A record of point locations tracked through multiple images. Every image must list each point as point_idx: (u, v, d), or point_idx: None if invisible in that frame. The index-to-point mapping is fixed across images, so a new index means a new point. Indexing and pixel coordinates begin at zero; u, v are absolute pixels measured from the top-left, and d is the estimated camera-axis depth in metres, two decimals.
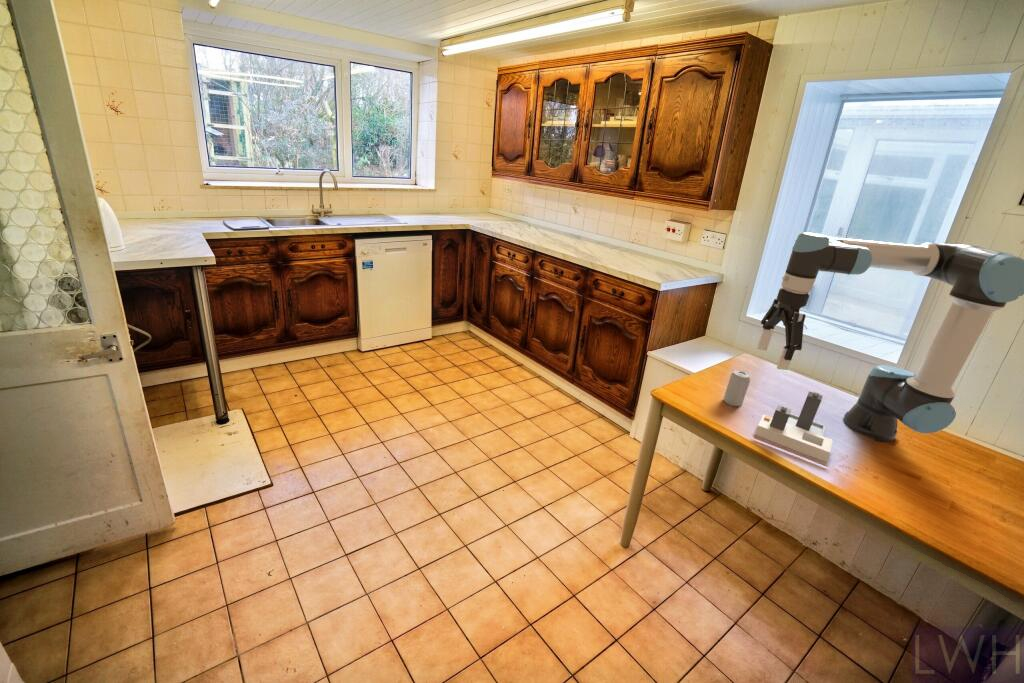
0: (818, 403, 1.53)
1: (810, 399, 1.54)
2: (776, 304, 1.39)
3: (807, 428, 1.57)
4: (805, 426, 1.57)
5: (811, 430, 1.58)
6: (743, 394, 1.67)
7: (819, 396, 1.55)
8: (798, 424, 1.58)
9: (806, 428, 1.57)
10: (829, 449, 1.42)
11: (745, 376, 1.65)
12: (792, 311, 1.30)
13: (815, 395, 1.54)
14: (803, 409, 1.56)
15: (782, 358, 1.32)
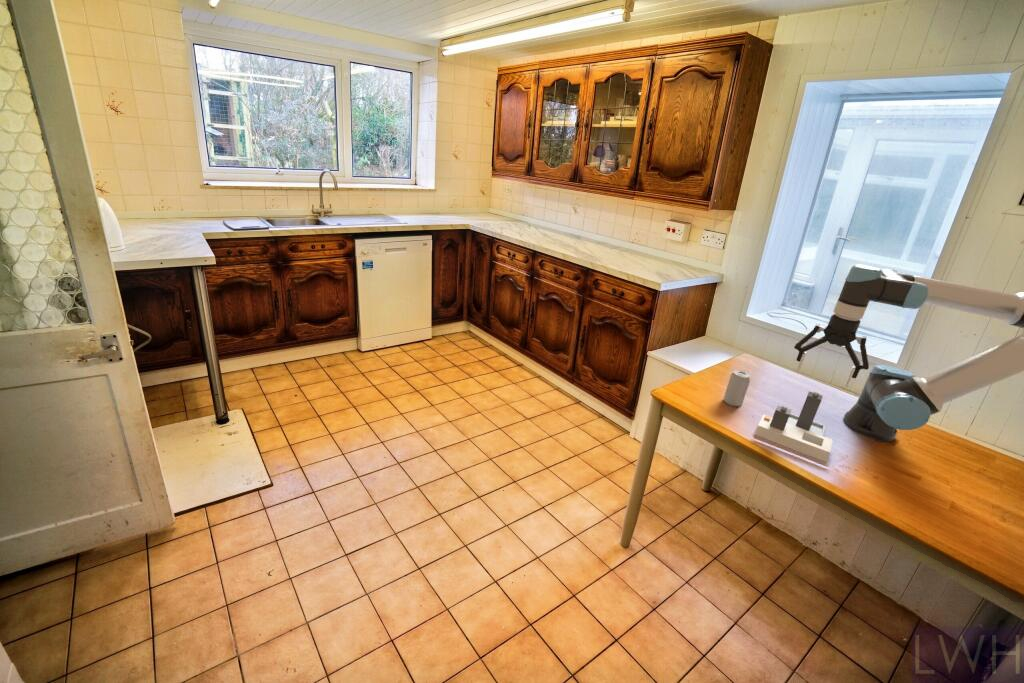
0: (818, 403, 1.53)
1: (810, 399, 1.54)
2: None
3: (807, 428, 1.57)
4: (805, 426, 1.57)
5: (811, 430, 1.58)
6: (743, 394, 1.67)
7: (819, 396, 1.55)
8: (798, 424, 1.58)
9: (806, 428, 1.57)
10: (829, 449, 1.42)
11: (745, 376, 1.65)
12: None
13: (815, 395, 1.54)
14: (803, 409, 1.56)
15: None
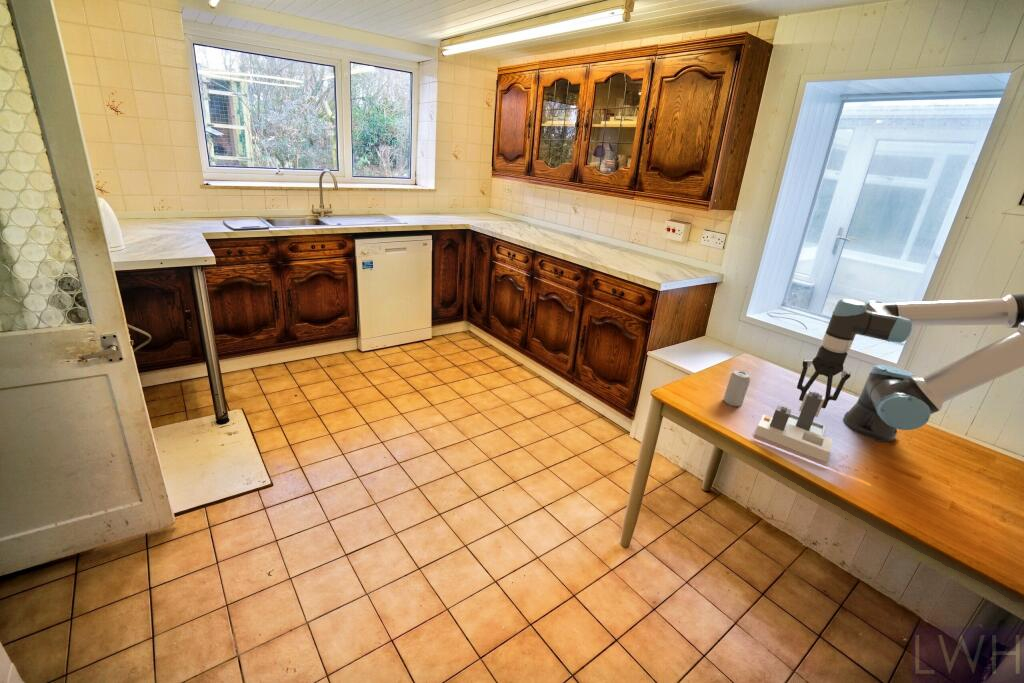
0: (818, 403, 1.53)
1: (810, 399, 1.54)
2: None
3: (807, 428, 1.57)
4: (805, 426, 1.57)
5: (811, 430, 1.58)
6: (743, 394, 1.67)
7: (819, 396, 1.54)
8: (798, 424, 1.58)
9: (806, 428, 1.57)
10: (829, 449, 1.42)
11: (745, 376, 1.65)
12: None
13: (815, 395, 1.54)
14: (803, 409, 1.56)
15: None
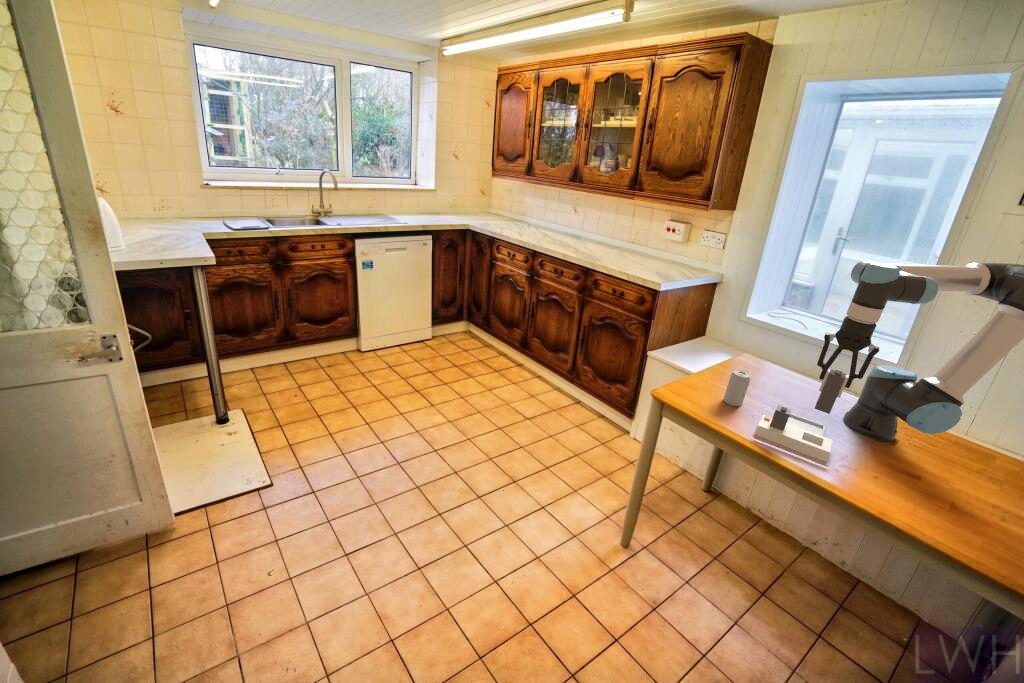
0: (841, 382, 1.36)
1: (831, 377, 1.38)
2: None
3: (828, 410, 1.40)
4: (826, 408, 1.41)
5: (811, 430, 1.58)
6: (743, 394, 1.67)
7: (842, 374, 1.38)
8: (818, 406, 1.42)
9: (827, 410, 1.41)
10: (829, 449, 1.42)
11: (745, 376, 1.65)
12: None
13: (838, 373, 1.37)
14: (824, 389, 1.40)
15: None
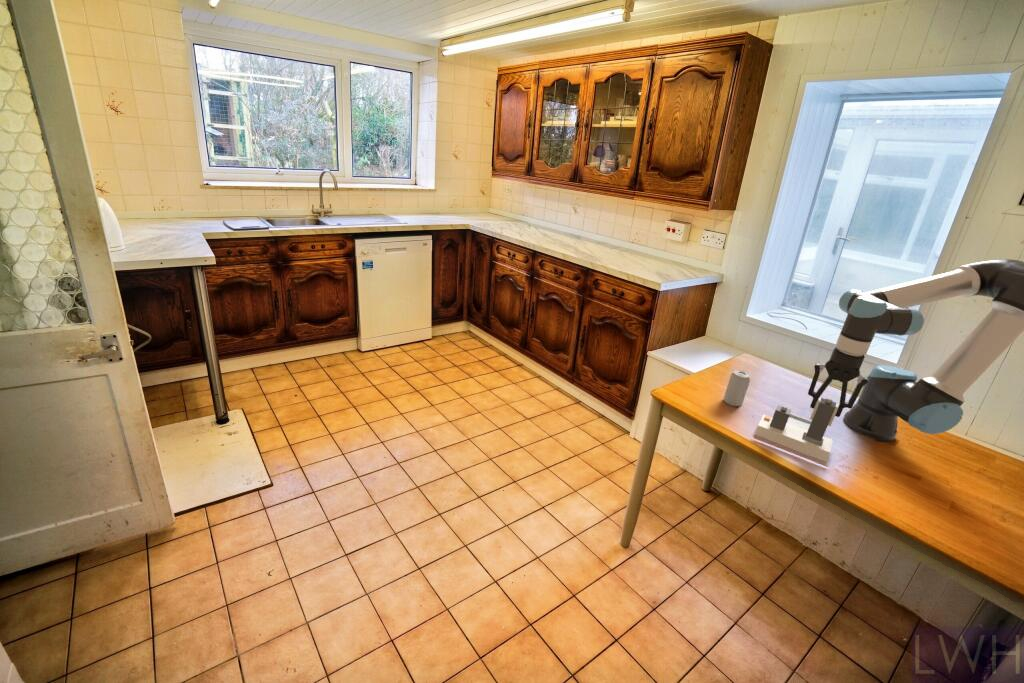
0: (831, 411, 1.39)
1: (822, 406, 1.41)
2: None
3: (819, 438, 1.43)
4: (817, 436, 1.44)
5: None
6: (743, 394, 1.67)
7: (832, 403, 1.41)
8: (809, 434, 1.45)
9: (818, 438, 1.44)
10: (829, 449, 1.42)
11: (745, 376, 1.65)
12: None
13: (829, 402, 1.40)
14: (815, 417, 1.43)
15: None
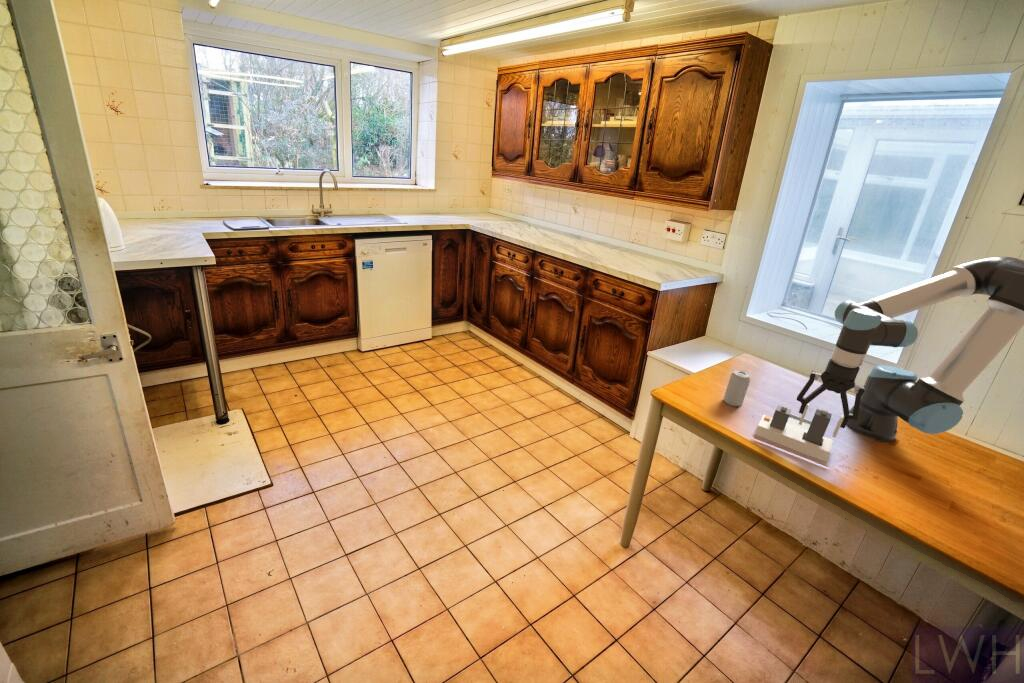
0: (827, 422, 1.41)
1: (817, 418, 1.42)
2: None
3: None
4: None
5: None
6: (743, 394, 1.67)
7: (828, 414, 1.42)
8: None
9: None
10: (829, 449, 1.42)
11: (745, 376, 1.65)
12: None
13: (824, 413, 1.42)
14: (810, 428, 1.44)
15: None
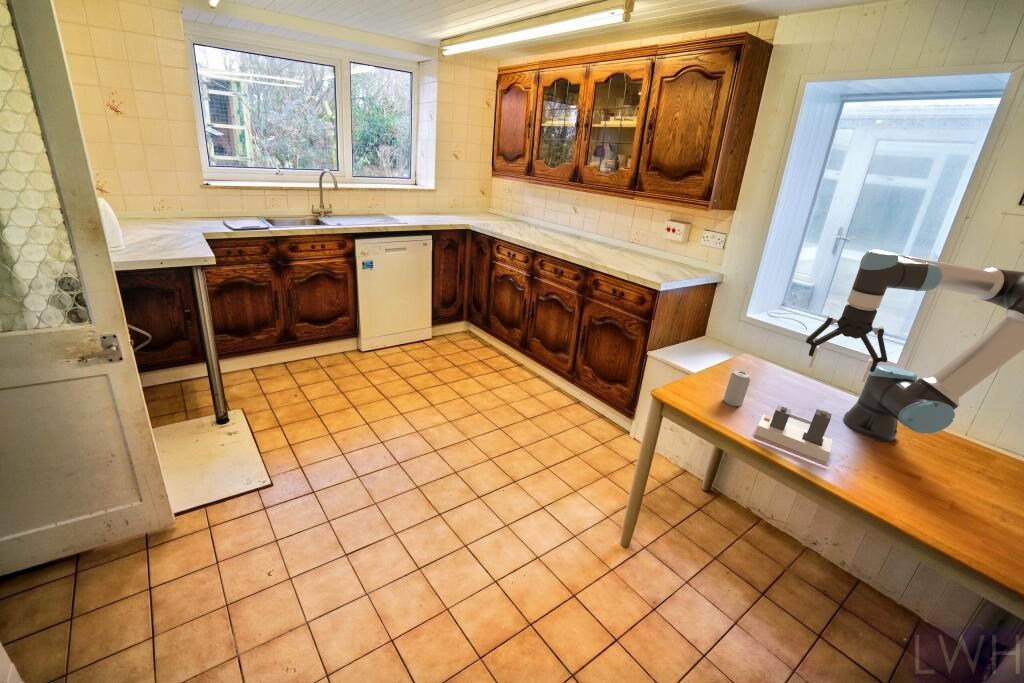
0: (827, 422, 1.41)
1: (817, 418, 1.42)
2: None
3: None
4: None
5: None
6: (743, 394, 1.67)
7: (828, 414, 1.42)
8: None
9: None
10: (829, 449, 1.42)
11: (745, 376, 1.65)
12: None
13: (824, 413, 1.42)
14: (810, 428, 1.44)
15: None
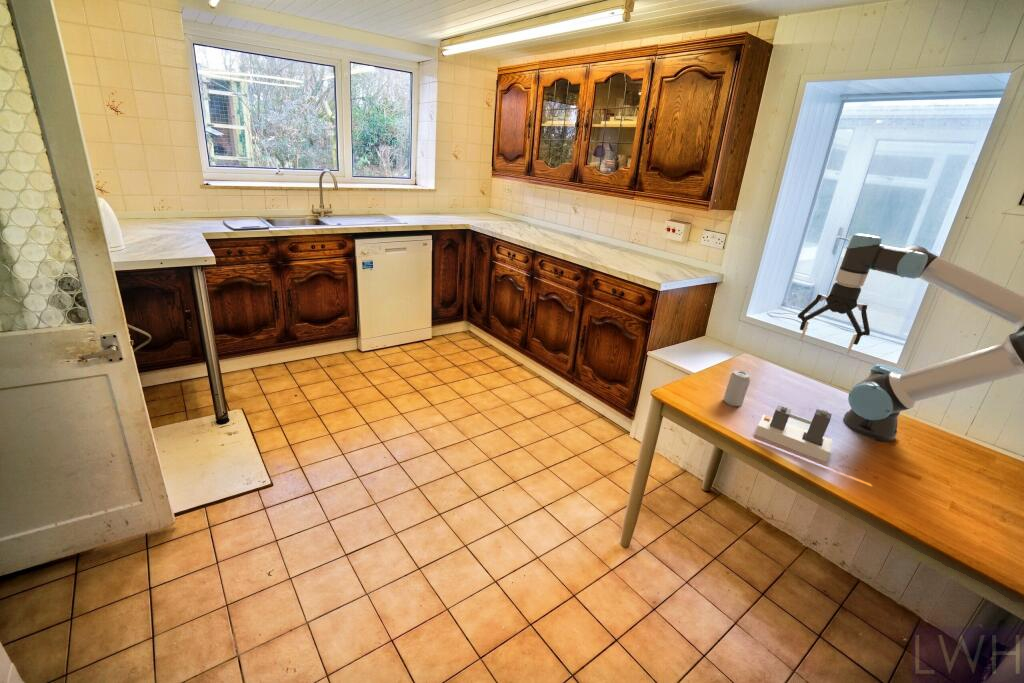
0: (827, 422, 1.41)
1: (817, 418, 1.42)
2: None
3: None
4: None
5: None
6: (743, 394, 1.67)
7: (828, 414, 1.42)
8: None
9: None
10: (829, 449, 1.42)
11: (745, 376, 1.65)
12: None
13: (824, 413, 1.42)
14: (810, 428, 1.44)
15: None
